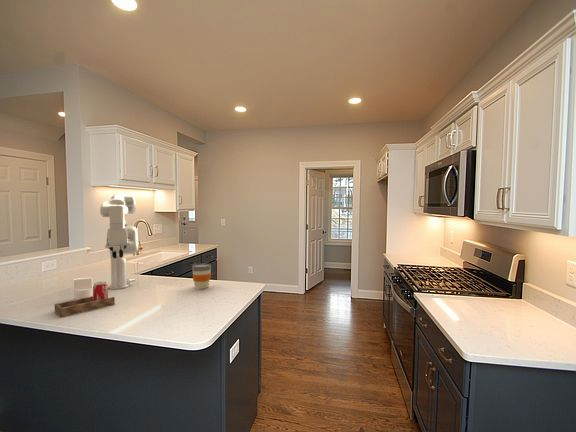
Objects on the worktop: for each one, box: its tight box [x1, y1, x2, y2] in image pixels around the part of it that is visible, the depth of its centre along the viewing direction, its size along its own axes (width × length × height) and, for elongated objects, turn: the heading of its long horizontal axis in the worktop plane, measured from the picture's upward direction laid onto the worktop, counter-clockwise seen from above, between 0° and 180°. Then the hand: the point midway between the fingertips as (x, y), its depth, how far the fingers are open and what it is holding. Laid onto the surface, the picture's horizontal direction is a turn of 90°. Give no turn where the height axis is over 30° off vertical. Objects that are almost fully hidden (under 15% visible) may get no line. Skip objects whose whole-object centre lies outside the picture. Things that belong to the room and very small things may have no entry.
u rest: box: [54, 296, 116, 318], centre depth 150 cm, size 24×12×4 cm, turn 140°
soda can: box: [93, 281, 109, 301], centre depth 156 cm, size 7×7×12 cm
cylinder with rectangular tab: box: [73, 276, 94, 300], centre depth 166 cm, size 9×9×12 cm
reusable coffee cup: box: [191, 263, 212, 290], centre depth 190 cm, size 12×13×15 cm
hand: (117, 257), depth 162 cm, fingers open, 2 cm apart
